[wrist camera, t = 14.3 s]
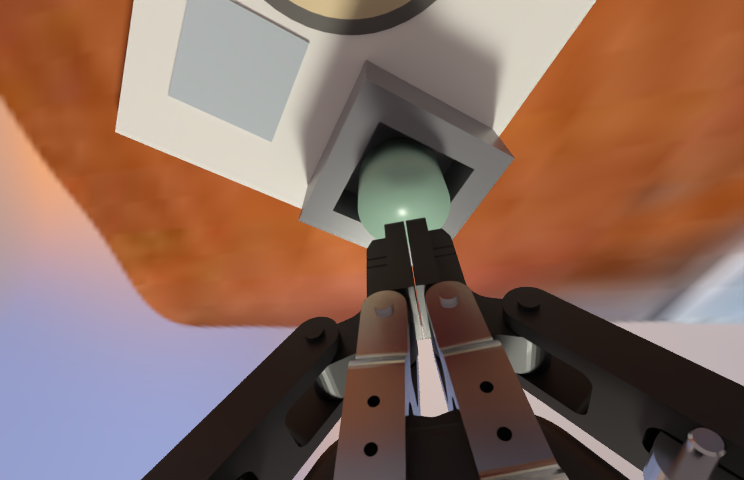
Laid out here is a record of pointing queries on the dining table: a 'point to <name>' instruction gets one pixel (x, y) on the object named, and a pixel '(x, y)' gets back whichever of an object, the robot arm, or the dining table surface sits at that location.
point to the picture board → (319, 72)
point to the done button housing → (400, 121)
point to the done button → (401, 187)
